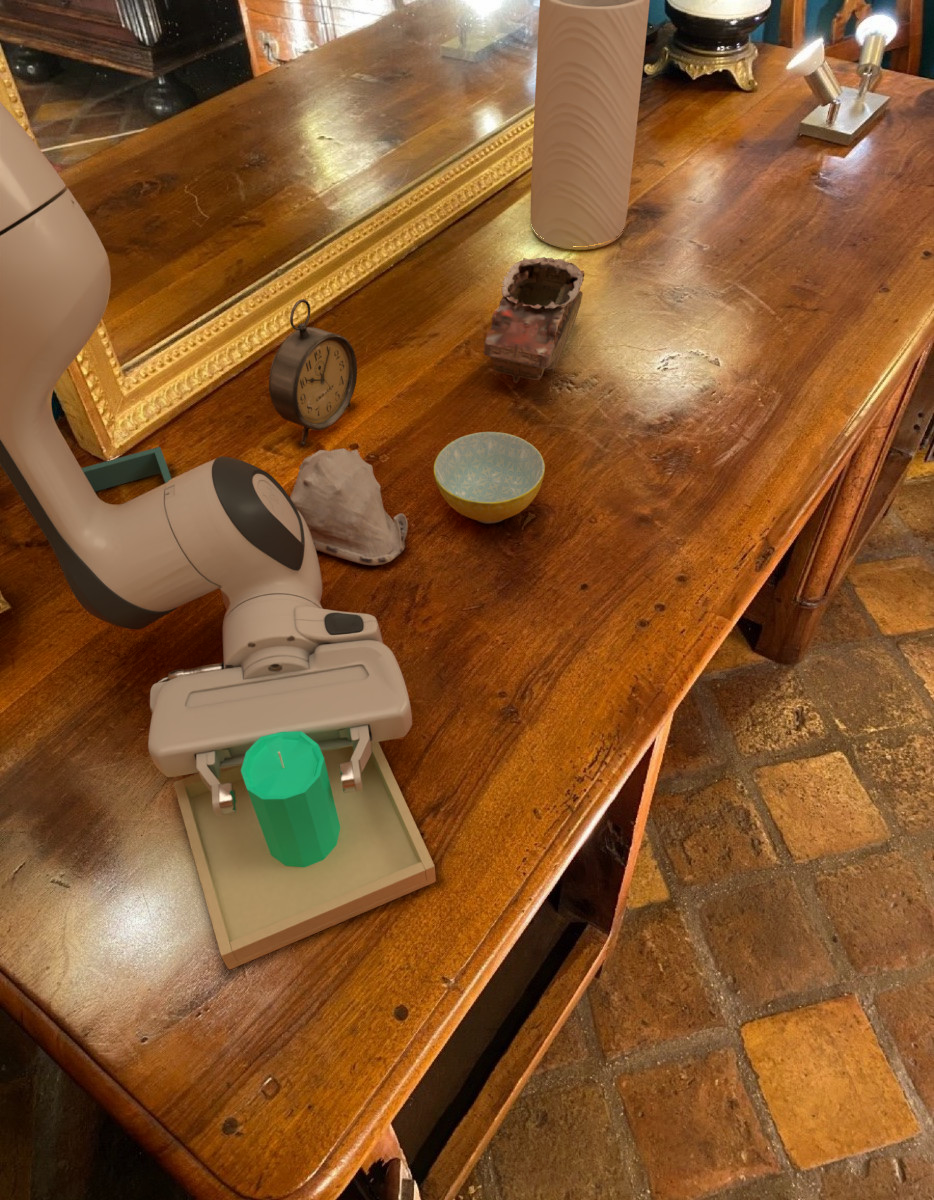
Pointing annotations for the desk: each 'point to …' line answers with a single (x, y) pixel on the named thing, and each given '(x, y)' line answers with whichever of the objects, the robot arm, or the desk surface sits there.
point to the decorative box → (534, 317)
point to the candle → (292, 797)
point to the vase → (585, 118)
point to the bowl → (489, 475)
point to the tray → (302, 894)
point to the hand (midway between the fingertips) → (289, 799)
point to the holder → (127, 469)
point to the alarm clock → (312, 377)
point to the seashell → (347, 508)
